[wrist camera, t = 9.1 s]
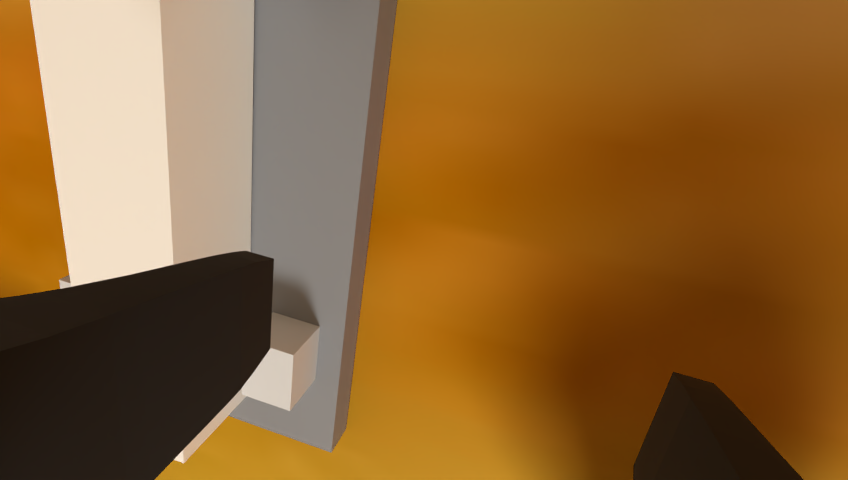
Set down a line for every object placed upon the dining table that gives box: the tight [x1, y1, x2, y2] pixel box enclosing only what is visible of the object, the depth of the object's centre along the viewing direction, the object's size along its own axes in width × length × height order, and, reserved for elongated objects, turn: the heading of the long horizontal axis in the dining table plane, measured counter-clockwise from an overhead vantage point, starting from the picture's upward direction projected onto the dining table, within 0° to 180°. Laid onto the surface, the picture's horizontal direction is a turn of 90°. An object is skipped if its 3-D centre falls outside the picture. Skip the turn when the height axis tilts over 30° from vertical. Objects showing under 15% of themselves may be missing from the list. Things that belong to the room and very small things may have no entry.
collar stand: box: [59, 0, 397, 452], centre depth 18 cm, size 24×12×4 cm, turn 171°
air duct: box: [30, 0, 254, 463], centre depth 17 cm, size 21×4×4 cm, turn 171°
